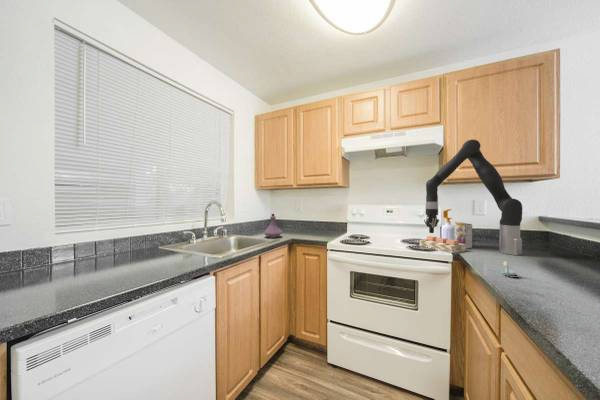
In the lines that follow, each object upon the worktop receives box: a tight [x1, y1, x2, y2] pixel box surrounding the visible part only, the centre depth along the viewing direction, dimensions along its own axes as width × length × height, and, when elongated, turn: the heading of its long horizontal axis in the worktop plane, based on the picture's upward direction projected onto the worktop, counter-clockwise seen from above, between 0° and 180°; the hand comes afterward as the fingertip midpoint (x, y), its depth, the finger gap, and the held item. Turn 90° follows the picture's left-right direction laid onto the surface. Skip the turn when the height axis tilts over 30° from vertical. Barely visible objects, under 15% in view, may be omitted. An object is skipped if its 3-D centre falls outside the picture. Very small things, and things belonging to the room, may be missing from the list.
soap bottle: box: [440, 208, 455, 240], centre depth 178 cm, size 9×9×25 cm
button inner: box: [446, 239, 458, 245], centre depth 144 cm, size 5×5×3 cm
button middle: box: [436, 237, 447, 243], centre depth 151 cm, size 5×5×3 cm
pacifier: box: [500, 260, 520, 278], centre depth 98 cm, size 7×6×6 cm
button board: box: [419, 239, 467, 254], centre depth 151 cm, size 22×14×4 cm, turn 24°
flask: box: [263, 213, 283, 239], centre depth 194 cm, size 16×16×20 cm
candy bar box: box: [454, 221, 473, 249], centre depth 155 cm, size 11×5×16 cm, turn 179°
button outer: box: [425, 235, 438, 241], centre depth 157 cm, size 5×5×3 cm
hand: (431, 233), depth 157 cm, fingers closed
